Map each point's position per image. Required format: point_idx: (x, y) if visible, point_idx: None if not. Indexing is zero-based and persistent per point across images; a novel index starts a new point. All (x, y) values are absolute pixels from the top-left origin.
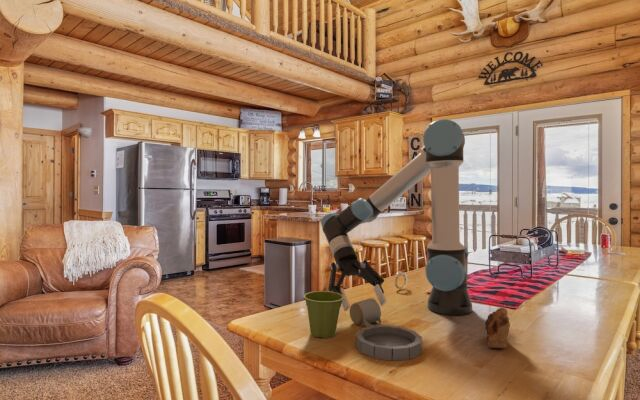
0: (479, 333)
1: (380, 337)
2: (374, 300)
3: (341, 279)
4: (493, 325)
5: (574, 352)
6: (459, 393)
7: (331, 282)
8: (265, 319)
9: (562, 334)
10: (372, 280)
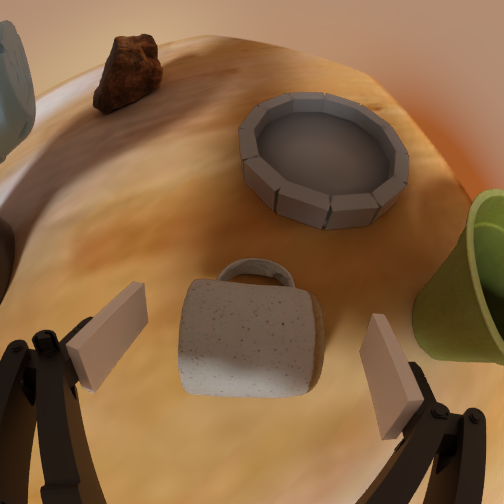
0: (89, 136)
1: (320, 184)
2: (193, 304)
3: (406, 475)
4: (145, 54)
5: (98, 74)
6: (323, 59)
7: (483, 438)
8: (489, 491)
9: (41, 110)
10: (67, 394)
